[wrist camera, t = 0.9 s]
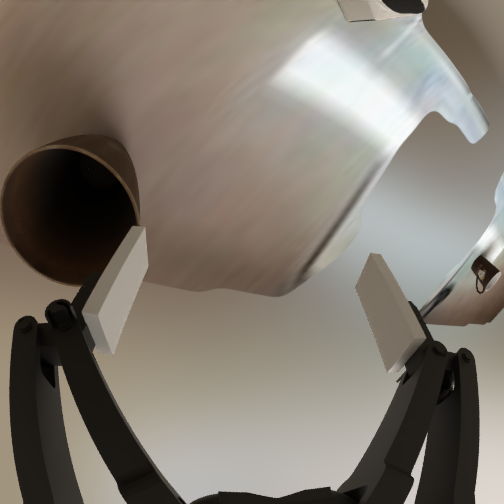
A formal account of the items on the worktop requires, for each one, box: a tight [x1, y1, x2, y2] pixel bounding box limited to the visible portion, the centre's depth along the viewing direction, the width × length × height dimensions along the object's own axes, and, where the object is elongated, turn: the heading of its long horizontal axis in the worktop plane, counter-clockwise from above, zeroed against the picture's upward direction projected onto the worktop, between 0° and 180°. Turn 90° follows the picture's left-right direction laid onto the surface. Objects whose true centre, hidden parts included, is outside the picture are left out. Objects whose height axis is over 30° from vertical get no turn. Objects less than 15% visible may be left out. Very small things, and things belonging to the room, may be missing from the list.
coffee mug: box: [471, 256, 501, 294], centre depth 71 cm, size 12×9×10 cm
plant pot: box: [0, 135, 140, 287], centre depth 26 cm, size 15×15×16 cm
